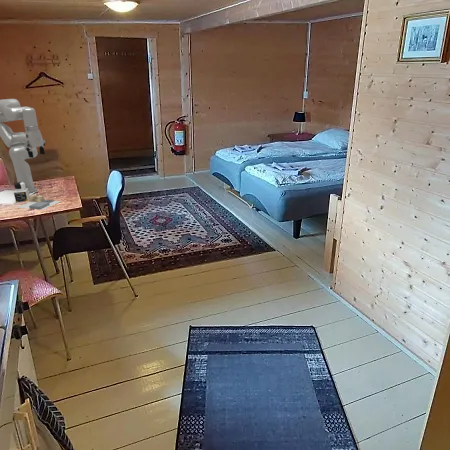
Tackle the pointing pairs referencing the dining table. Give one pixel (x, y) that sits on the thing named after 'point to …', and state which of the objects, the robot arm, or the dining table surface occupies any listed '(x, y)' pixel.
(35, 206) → the tile
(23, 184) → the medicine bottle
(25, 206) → the mat
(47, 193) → the dining table surface
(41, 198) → the turner
